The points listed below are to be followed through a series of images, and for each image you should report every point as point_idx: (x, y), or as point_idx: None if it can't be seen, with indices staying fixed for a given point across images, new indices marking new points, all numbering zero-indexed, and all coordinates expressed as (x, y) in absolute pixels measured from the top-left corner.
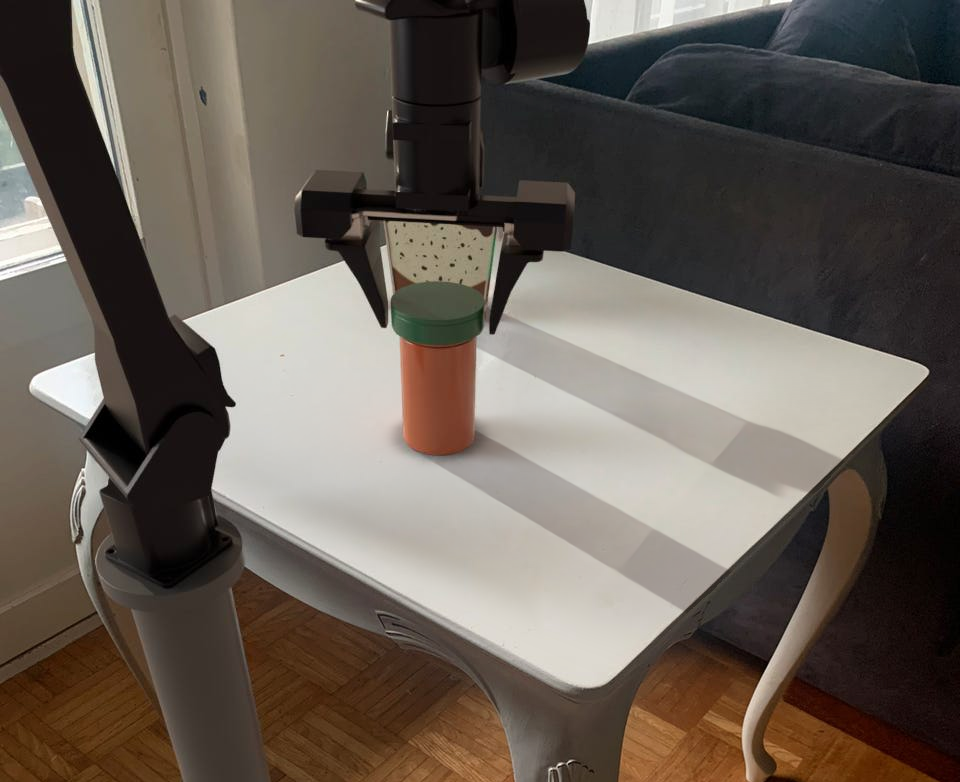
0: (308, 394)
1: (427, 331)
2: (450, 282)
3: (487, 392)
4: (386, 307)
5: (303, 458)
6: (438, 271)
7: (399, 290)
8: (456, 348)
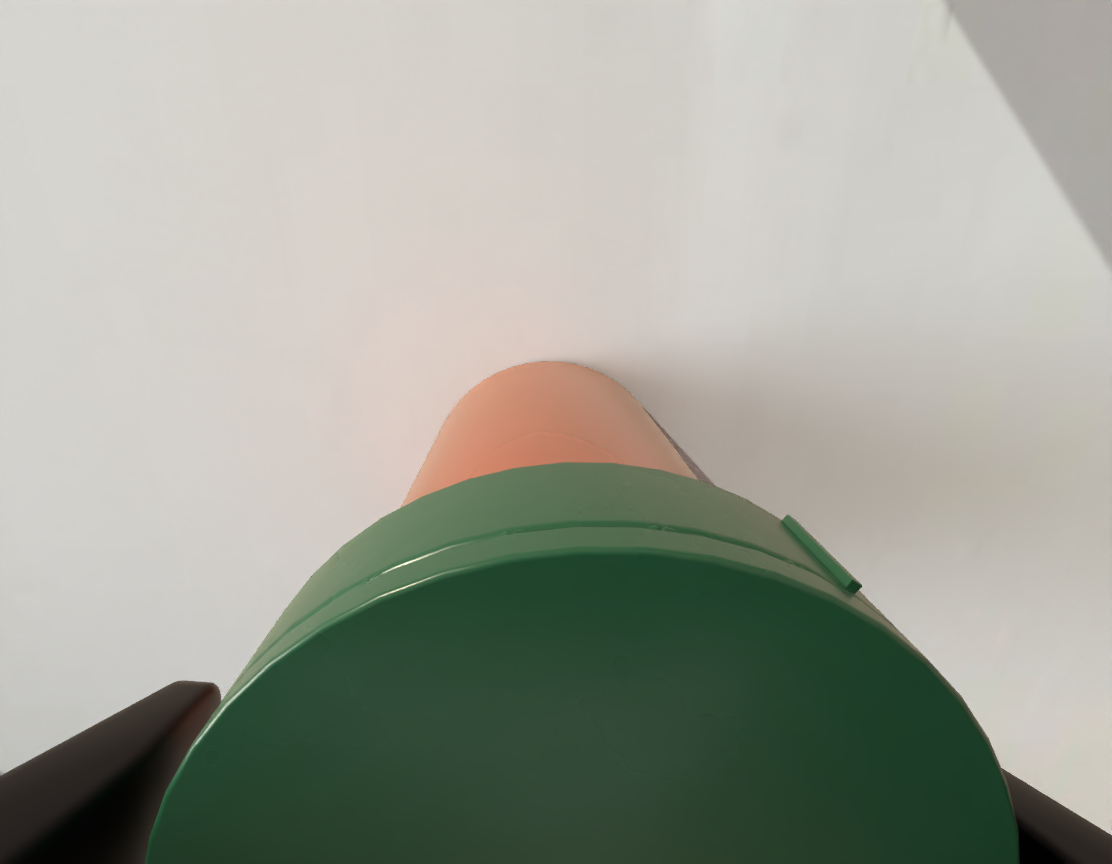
0: (26, 180)
1: None
2: (741, 586)
3: (736, 158)
4: (146, 831)
5: (139, 602)
6: None
7: (190, 783)
8: None
